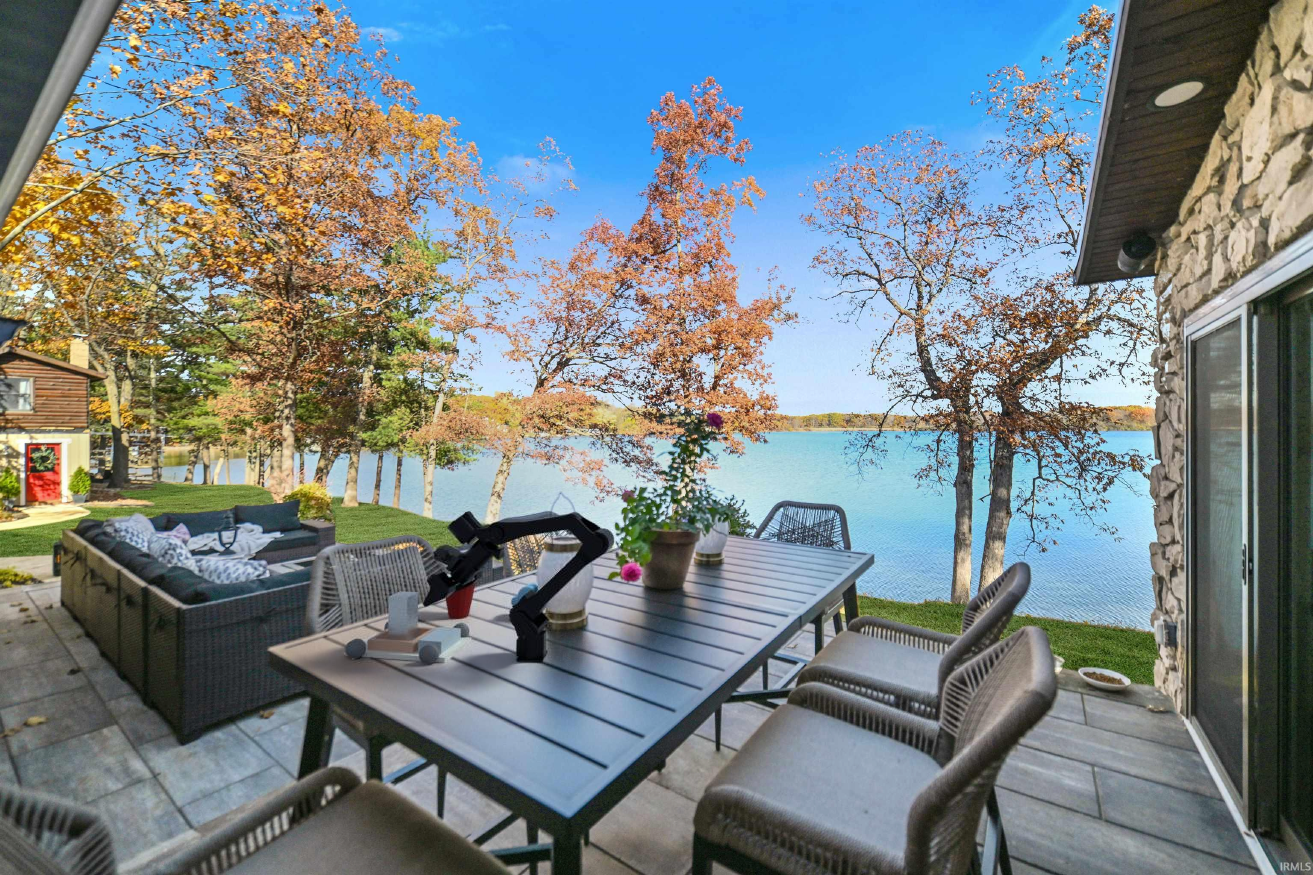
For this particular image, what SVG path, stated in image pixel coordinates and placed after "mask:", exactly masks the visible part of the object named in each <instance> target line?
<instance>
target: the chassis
mask: <svg viewBox="0 0 1313 875" xmlns="http://www.w3.org/2000/svg"><path fill="white" fill-rule="evenodd" d="M383 629H384V630H383V631H379V632H376V633H375V634H372V635H371V636H369V637H367V638H365V639H364V640H363V639H362V638H353V639H352V640H350V641H348V642H347V643H346V645H345V648H344V649H345V650H344V655H347V656H346V657H348V658H349V659H351V658H353V659H352V660H356V659H359V658H371V657H372V658H375V659H385V660H386V659H387V660H388V659H389V660H398V661H399V660H402V661H415V662H421V663H422V664H424V665H433V663H442V664H443V663H444V664H445V663H446V662H448V661H449V660H451V659H452V658H453V657H455V655H457V654H458V653H459V652H461V651H462V650H464V648H466V647H467V646H469V645H470V644H471V643H472V637H469V635H470V628H469V625H467V624H466V623H464V622H459V623H457V624H455V625H454V626H453V627H444V626H438V627H428V626H427V627H425V626H418V633H417V638H416V639H414V640H413V641H404V640H389V639H388V621H387V622H385V624H384V627H383ZM360 656H361V657H360Z"/></svg>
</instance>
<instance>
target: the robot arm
mask: <svg viewBox="0 0 1313 875" xmlns="http://www.w3.org/2000/svg"><path fill="white" fill-rule="evenodd" d="M447 530H448V531H449V532H450V533H451V534H452V535H453V537H454V538H456V540H457V542H459V543H460V544H461V545H462V546H464V545H466V544H467V546H470V547H469V548H468V549H467V550H466V552H464V553H463V552H462V551H460V550H458V549H457V548H455V547H453V546H451V545H449V544H443V545H439V546H438V547H437V548H436V549H435V550H434V551H433V553H432V555H433V559H434V560H435V561H437V562H439V563H441V564H443V565H445V566H446V567H445V569H446V571H447V572H450V573H449V574H450V575H451V577H448V575H447V573H446V572H445V571H440V570H439V571H436V572H435V573H432V574H431V575H429V577H428V578H427V579H426V583H427V585H429V590H428V592H427V595H426V596H425V598H424V600H423V602H422V605H423V606H424V608H427V607H429V606H430V605H433V604H436V603H438V602H440V601H442V600H446V598H447V597H449V596H450V595H451V594H453V593H455V592H458V591H460V590H462V589H464V588H467V587H469V586H471V585H473V584H474V583H476V584H477V583H478V582H479V581H480V580H481V579H482V578H483V570H484V569H485V566H486V565H487V564H488V563H489V562H490V561H491V560H492V559H493V558H495V559H496V560H497V561H499V560H502V559H504V558H505V555H506V554H505V547H504V546H503V547H501V545H505V544H506V543H509V542H513V541H515V540H518V539H521V538H523V537H529V536H535V535H540V534H541V535H542V534H549V533H555V532H561V531H562V532H563V531H569V532H570V533H571V534H572V535H573V536H574V537H575V538H576V540H578V541H579V542H580V543H581V545H580V546H579V548H578V550H577V552H576V554H575V555H574V556H573V557H572V558H571V559H570V560H568V562H567V563H566V564H565V566H564V567H563V568H562V569H561V570H560V571H559V572H558V573H556V574H554V575H552V576H551V578H550V579H549V581H548V580H547V583H546V584H545V585H544V586H543V587H542V588H541V589H540V590H539V591H538V592H536V593H534V591H533V590H530V591H529V592H527V593H526V594H525V595H523V596H522V598H521V599H520V600H519V601H518V602H517V603H515V604H514V605H511V609H512V608H514V609H512V611H511V612H510V613H509V614H510V617H509V621H510V623H511V625H512V626H513V627H514V630H515V634H516V636H517V639H516V640H515V642H516V645H515V657H516V659H515V660H516V662H529V663H530V662H531V663H532V662H533V663H535V662H536V663H537V662H538V663H542V662H544V661H545V659H546V657H547V654H548V650H547V631H548V630H547V628H548V626H549V624H550V618H549V617H548V616H547V614H544V613H543V611H544V609H545V608H546V606H547V605H548V603H549V601H550V600H551V601H552V599H553V598H554V597H555V596H556V595H558V593H560V591H562V589H563V588H565V587H566V586H567V585H568V584H569V583H570V582H571V581H572V580H573V579H574V578H575V577H576V576H577V575H578V574H579V573H580V572H581V571H582V570H583V569H584V568H585V567H587V566H588V565H590V564H592V562H595V561H596V560H598V558H600V557H602V556H603V555H604V554H606V553H607V552H609V550H611V549H612V547H613V546H614V544H615V537H614V536H615V535H614V534H613V533H612V531H610V530H609V529H608V528H602V527H601V526H599V525H598V524H596V523H595V522H593V521H591V520H589V519H588V518H586V517H584V516H583V515H582V514H580V513H579V512H577V511H573V512H572V511H571V512H569V513H566V514H565V513H564V514H557V515H553V516H552V515H551V516H545V517H539V518H534V519H520V518H504V519H500V520H497V521H494V522H492V523H490V524H485V525H482V524H481V522H480V521H478V519H477V518H476V517H475V516H474V514H473V513H472V511H471V510H468V511H465V512H463V514H461V515H460V516H458V517H457V518H456V519H454V520H453V521H451V522H450V523H449V524H448V526H447ZM473 577H474V578H475V579H474V578H473ZM473 579H474V580H473ZM548 606H549V605H548Z"/></svg>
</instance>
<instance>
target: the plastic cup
mask: <svg viewBox="0 0 1313 875" xmlns="http://www.w3.org/2000/svg"><path fill="white" fill-rule="evenodd" d="M446 574H447V573H446ZM447 575H448V577H451V575H450V573H449V574H447ZM473 578H474V577H473ZM474 579H475V578H474ZM474 579H473V580H474ZM476 585H477V582H476V583H474V584H473V585H471V586H469V587H467V588H464V589H462V590H460V591H458V592H455V593H453V594H451V595H450V596H449V597H447V598H445V606H446V608H447V609H446V610H447V615H448V617H449V619H454V620H459V619H465V618H467V617H469V615H470V611H471V606H472V603H473V597H474V592H475V588H476Z"/></svg>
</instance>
